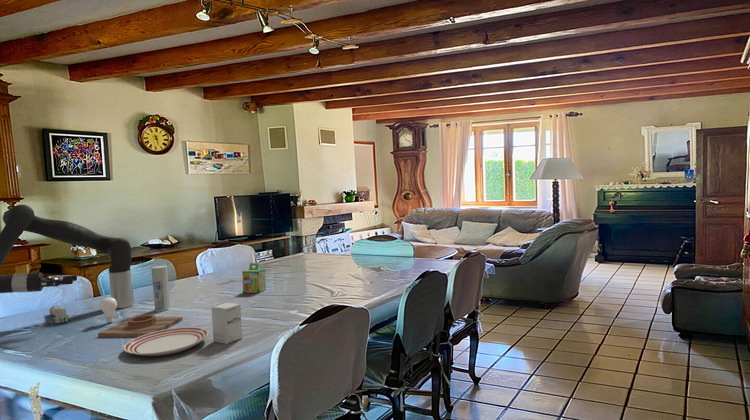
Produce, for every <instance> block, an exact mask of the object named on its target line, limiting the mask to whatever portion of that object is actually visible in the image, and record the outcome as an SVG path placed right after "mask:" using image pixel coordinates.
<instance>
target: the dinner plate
mask: <svg viewBox="0 0 750 420" xmlns="http://www.w3.org/2000/svg"><path fill="white" fill-rule="evenodd" d="M208 330H209V329H206V328H204V327H199V326H198V327H197V326H183V327H182V326H181V327H180V326H179V327H173V328H172V327H171V328H167V329H165V330H161V331H156V332H152V333H149V334H146V335H143V336H140V337H134V338H133V339H131V340H129V341H128V342H126V343H125V344H124V346H123V351H124V352H125V353H128V354H131V355H132V354H133V355H137V356H147V357H159V356H167V355H174V354H178V353H181V352H183V351H186V350H190V348H192V347H195V346H196V345H198V344H200V343H202V342H203V341H204V340H205V339H206V338H207V337H208V336H209V333H210V331H208Z"/></svg>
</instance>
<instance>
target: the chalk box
mask: <svg viewBox="0 0 750 420" xmlns="http://www.w3.org/2000/svg"><path fill="white" fill-rule="evenodd" d="M253 266H255V267H253ZM241 273H242V294H260V293H262V292H264V291H265V290H267V289H266V269H265V268H259V263H258V262H257V263H256V262H254V263H253V262H252V263H249V267H248V269H245V270H242V272H241Z"/></svg>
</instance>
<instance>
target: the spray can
mask: <svg viewBox="0 0 750 420" xmlns="http://www.w3.org/2000/svg"><path fill="white" fill-rule="evenodd" d="M168 274H169V273H168V266H167V265H157V266H152V267H151V276H152V277H151V278H152V288H153V291H152V292H153V301H154V303H153V304H154V311H155V312H164V311H165V310H166V311H168V309H169V308H171V307H170V296H169V295H170V293H169V292H170V291H169V279H168V278H169V276H168ZM169 310H170V309H169Z"/></svg>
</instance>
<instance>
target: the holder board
mask: <svg viewBox="0 0 750 420" xmlns="http://www.w3.org/2000/svg"><path fill="white" fill-rule="evenodd" d="M182 321H183V316H156V315H153V314H145V315H144V314H143V315H139V316H137V315H136V316H134V317H131V318H128V319H127V320H125V321H123V322H120V323H118V324H116V325H114V326H113V325H112V327H109V328H107V329H105V330H102V331H100V332H98V333H97V335H98V338H137V337H140V336H143V335H146V334H149V333H152V332H156V331H161V330H166V329H170V328H172V326H175V325H176V324H179V323H180V322H182Z"/></svg>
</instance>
